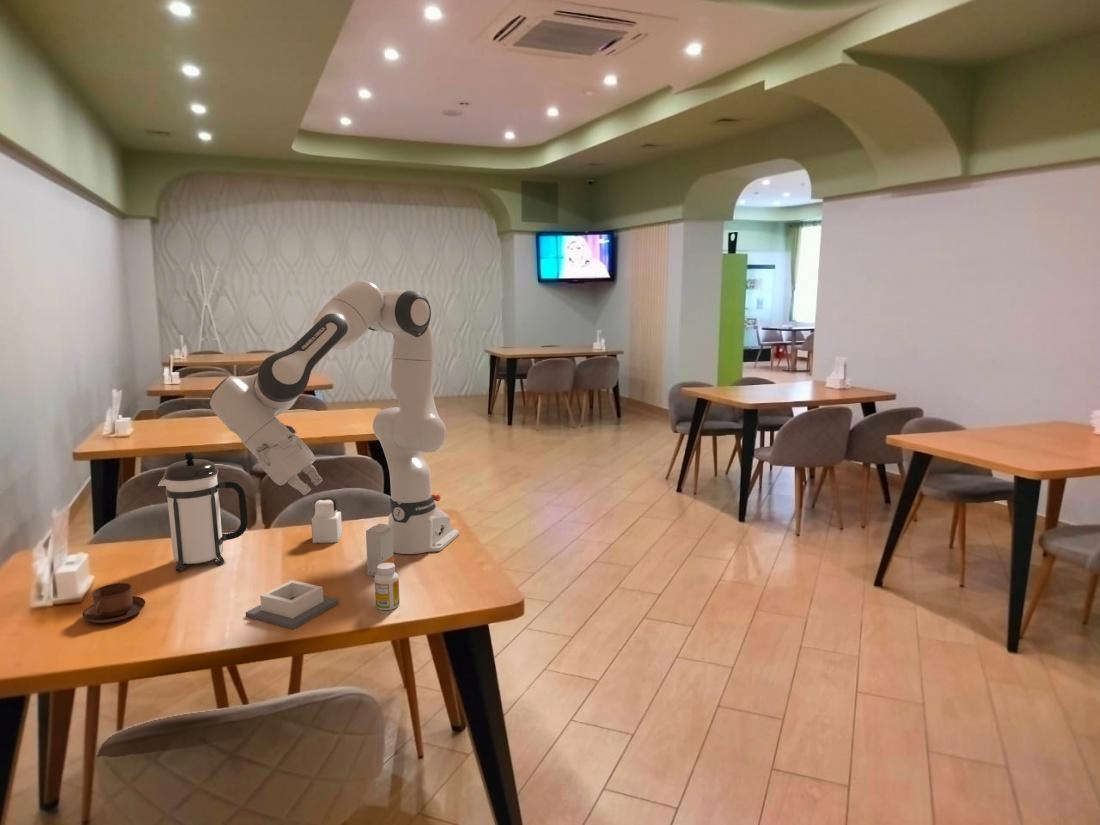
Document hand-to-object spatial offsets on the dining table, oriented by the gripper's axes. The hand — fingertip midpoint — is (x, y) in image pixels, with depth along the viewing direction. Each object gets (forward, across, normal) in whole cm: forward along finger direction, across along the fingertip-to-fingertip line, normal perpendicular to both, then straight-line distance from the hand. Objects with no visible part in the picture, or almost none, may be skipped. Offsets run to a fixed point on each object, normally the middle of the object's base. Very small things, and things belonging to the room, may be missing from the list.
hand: (314, 487), depth 157 cm
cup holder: (+18, 0, +23) cm, 29 cm away
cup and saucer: (-8, 0, +53) cm, 53 cm away
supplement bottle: (+31, +1, +7) cm, 32 cm away
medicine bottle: (+13, +47, +24) cm, 55 cm away
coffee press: (-5, +32, +47) cm, 57 cm away
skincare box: (+27, +21, +10) cm, 36 cm away
